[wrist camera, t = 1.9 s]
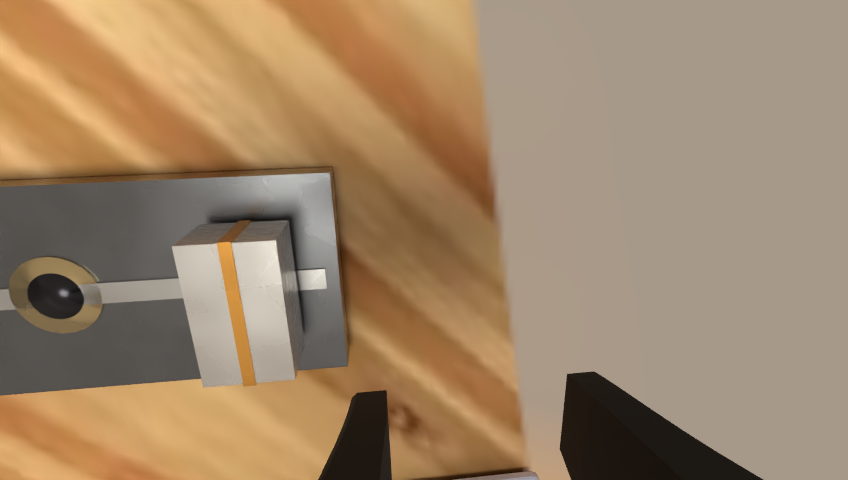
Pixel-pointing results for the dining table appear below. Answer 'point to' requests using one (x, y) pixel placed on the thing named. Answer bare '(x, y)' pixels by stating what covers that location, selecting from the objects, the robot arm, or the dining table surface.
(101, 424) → the dining table surface
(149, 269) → the plate
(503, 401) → the dining table surface
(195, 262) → the block
